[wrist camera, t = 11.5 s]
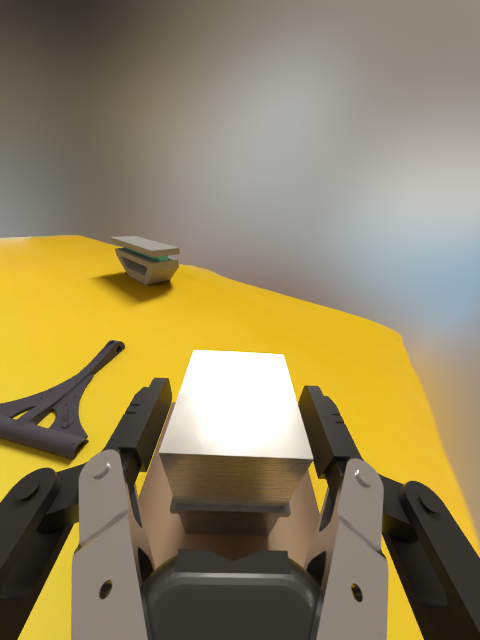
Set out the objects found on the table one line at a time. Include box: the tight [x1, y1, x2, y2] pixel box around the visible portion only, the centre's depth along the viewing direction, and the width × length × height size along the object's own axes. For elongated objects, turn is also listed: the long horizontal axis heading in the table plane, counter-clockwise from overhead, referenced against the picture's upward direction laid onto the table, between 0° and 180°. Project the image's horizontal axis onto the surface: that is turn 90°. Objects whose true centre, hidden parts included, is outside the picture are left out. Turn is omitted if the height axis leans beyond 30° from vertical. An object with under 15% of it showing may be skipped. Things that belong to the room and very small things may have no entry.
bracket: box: [0, 340, 125, 459], centre depth 24 cm, size 14×15×3 cm
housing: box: [159, 350, 313, 536], centre depth 11 cm, size 5×5×10 cm
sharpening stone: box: [111, 236, 179, 285], centre depth 57 cm, size 25×8×11 cm, turn 51°
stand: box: [138, 402, 320, 570], centre depth 14 cm, size 12×12×4 cm
